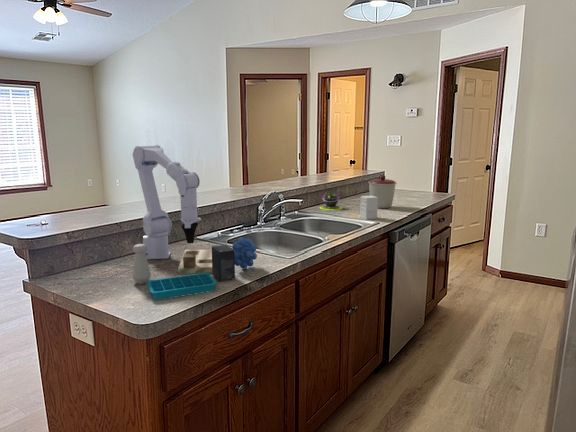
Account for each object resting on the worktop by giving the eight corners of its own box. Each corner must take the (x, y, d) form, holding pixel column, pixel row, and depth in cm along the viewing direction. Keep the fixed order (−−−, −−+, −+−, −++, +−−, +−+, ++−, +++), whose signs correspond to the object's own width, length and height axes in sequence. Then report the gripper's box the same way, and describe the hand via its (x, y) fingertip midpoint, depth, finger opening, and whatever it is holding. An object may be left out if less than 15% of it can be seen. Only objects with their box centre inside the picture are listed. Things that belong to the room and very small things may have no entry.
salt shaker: (133, 286, 138) (130, 248, 135) (132, 280, 143) (129, 243, 140) (152, 283, 140) (149, 246, 138) (150, 278, 145) (147, 241, 143)
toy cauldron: (315, 208, 271) (315, 191, 269) (325, 205, 284) (325, 189, 281) (337, 211, 264) (337, 193, 261) (346, 207, 277) (346, 190, 274)
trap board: (178, 273, 150) (177, 268, 149) (185, 254, 172) (184, 250, 172) (212, 272, 151) (212, 267, 151) (215, 253, 174) (214, 249, 173)
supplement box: (370, 216, 248) (371, 195, 246) (377, 219, 241) (378, 197, 239) (359, 217, 246) (360, 195, 243) (365, 219, 239) (366, 197, 236)
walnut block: (183, 268, 150) (183, 257, 149) (184, 264, 153) (184, 254, 153) (195, 267, 150) (194, 257, 149) (195, 264, 154) (195, 253, 153)
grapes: (239, 275, 148) (238, 242, 146) (227, 270, 153) (226, 238, 151) (264, 268, 156) (263, 236, 154) (252, 263, 161) (252, 233, 159)
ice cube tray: (147, 289, 136) (146, 280, 136) (209, 280, 145) (208, 272, 144) (151, 302, 126) (151, 293, 125) (218, 292, 134) (217, 283, 134)
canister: (363, 204, 285) (365, 173, 281) (389, 204, 287) (391, 173, 283) (371, 210, 267) (373, 176, 263) (399, 209, 269) (401, 176, 265)
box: (235, 279, 145) (234, 249, 143) (219, 281, 142) (218, 251, 140) (227, 272, 152) (226, 243, 150) (212, 274, 149) (211, 246, 147)
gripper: (198, 210, 146) (200, 248, 149) (201, 202, 160) (202, 237, 163) (177, 210, 145) (179, 248, 148) (182, 203, 159) (184, 237, 162)
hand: (190, 242), depth 156 cm, fingers closed
